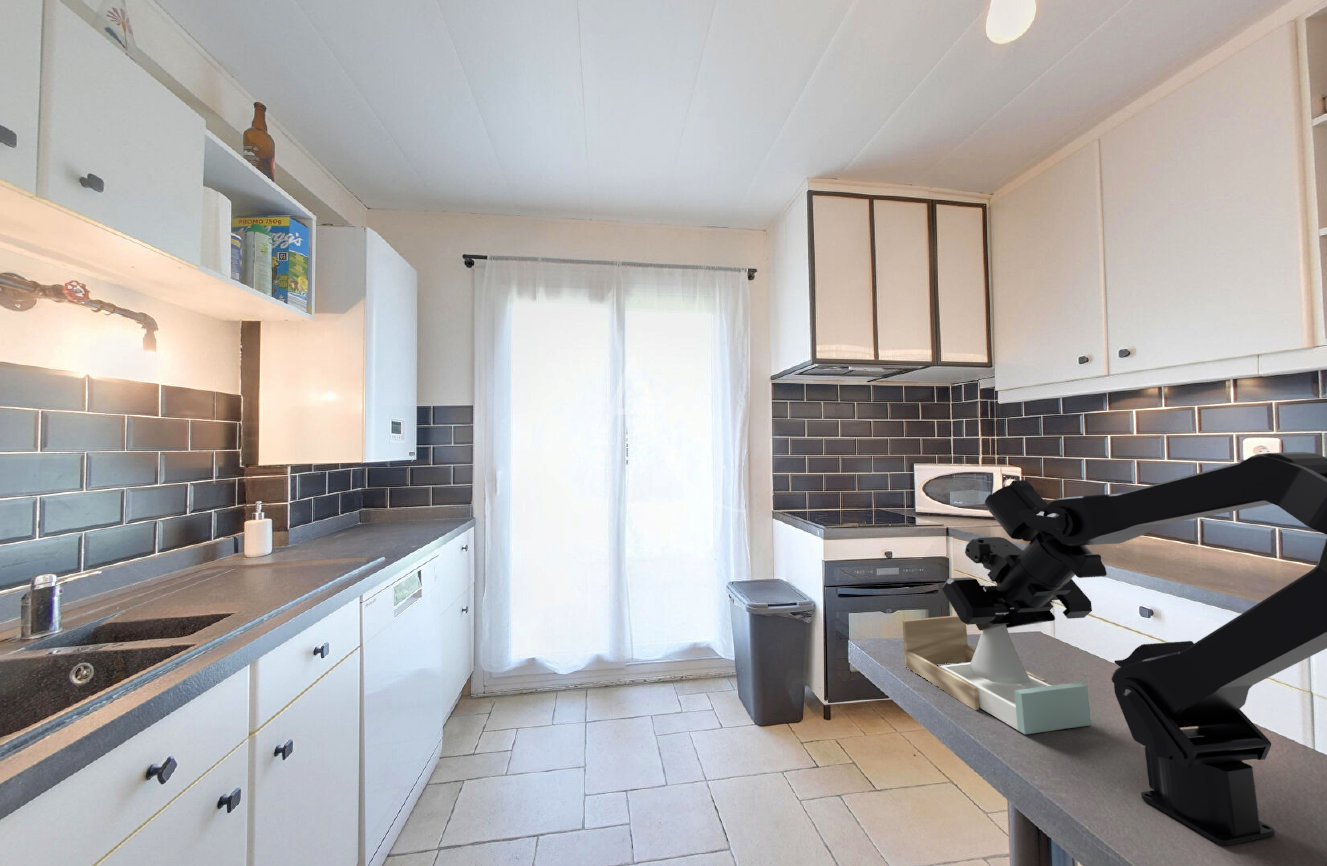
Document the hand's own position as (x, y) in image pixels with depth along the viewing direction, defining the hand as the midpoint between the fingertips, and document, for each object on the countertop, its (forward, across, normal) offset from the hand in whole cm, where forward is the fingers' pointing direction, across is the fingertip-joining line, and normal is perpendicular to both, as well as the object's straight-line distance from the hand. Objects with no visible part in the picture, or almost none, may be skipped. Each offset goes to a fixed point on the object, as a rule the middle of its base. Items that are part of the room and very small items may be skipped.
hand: (988, 626), depth 72 cm
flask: (+4, 0, +6) cm, 7 cm away
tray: (+5, +1, +9) cm, 10 cm away
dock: (+9, +1, +5) cm, 10 cm away
